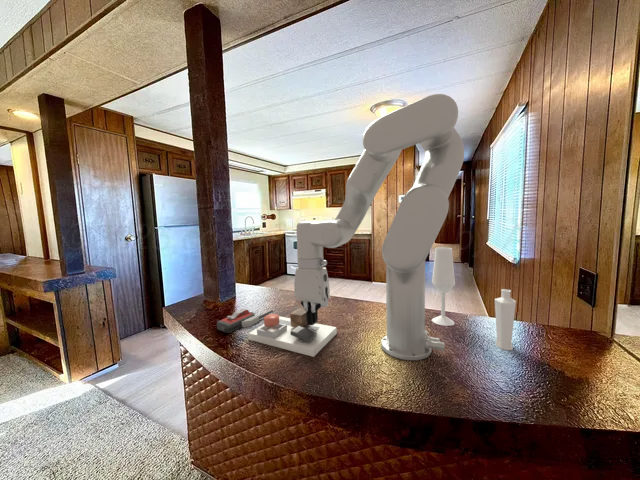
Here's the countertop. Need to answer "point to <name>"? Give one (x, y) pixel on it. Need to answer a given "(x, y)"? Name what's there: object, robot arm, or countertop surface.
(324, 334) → the control panel
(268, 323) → the push button
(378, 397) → the countertop surface
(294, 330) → the rocker switch
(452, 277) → the champagne flute
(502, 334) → the perfume bottle
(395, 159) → the robot arm
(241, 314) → the gray red lever tool
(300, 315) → the slider knob
